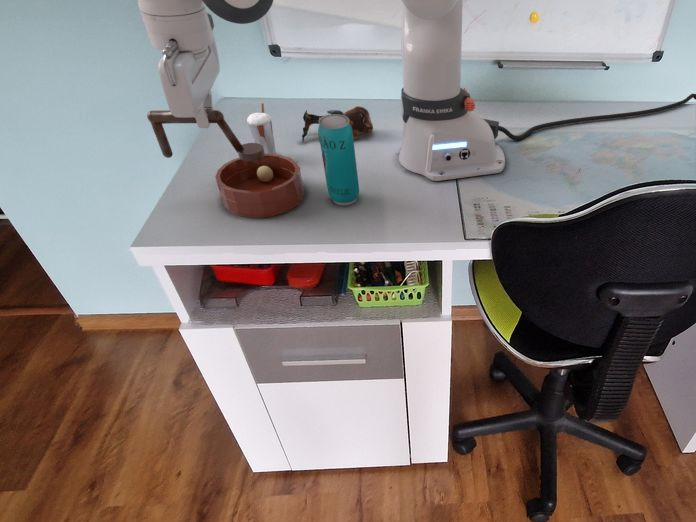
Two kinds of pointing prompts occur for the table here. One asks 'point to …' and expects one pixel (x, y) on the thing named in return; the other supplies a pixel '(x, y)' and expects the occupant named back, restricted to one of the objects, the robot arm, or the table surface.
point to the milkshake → (262, 130)
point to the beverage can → (339, 158)
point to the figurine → (357, 116)
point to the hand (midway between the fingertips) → (207, 122)
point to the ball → (265, 173)
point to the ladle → (158, 118)
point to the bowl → (260, 186)
